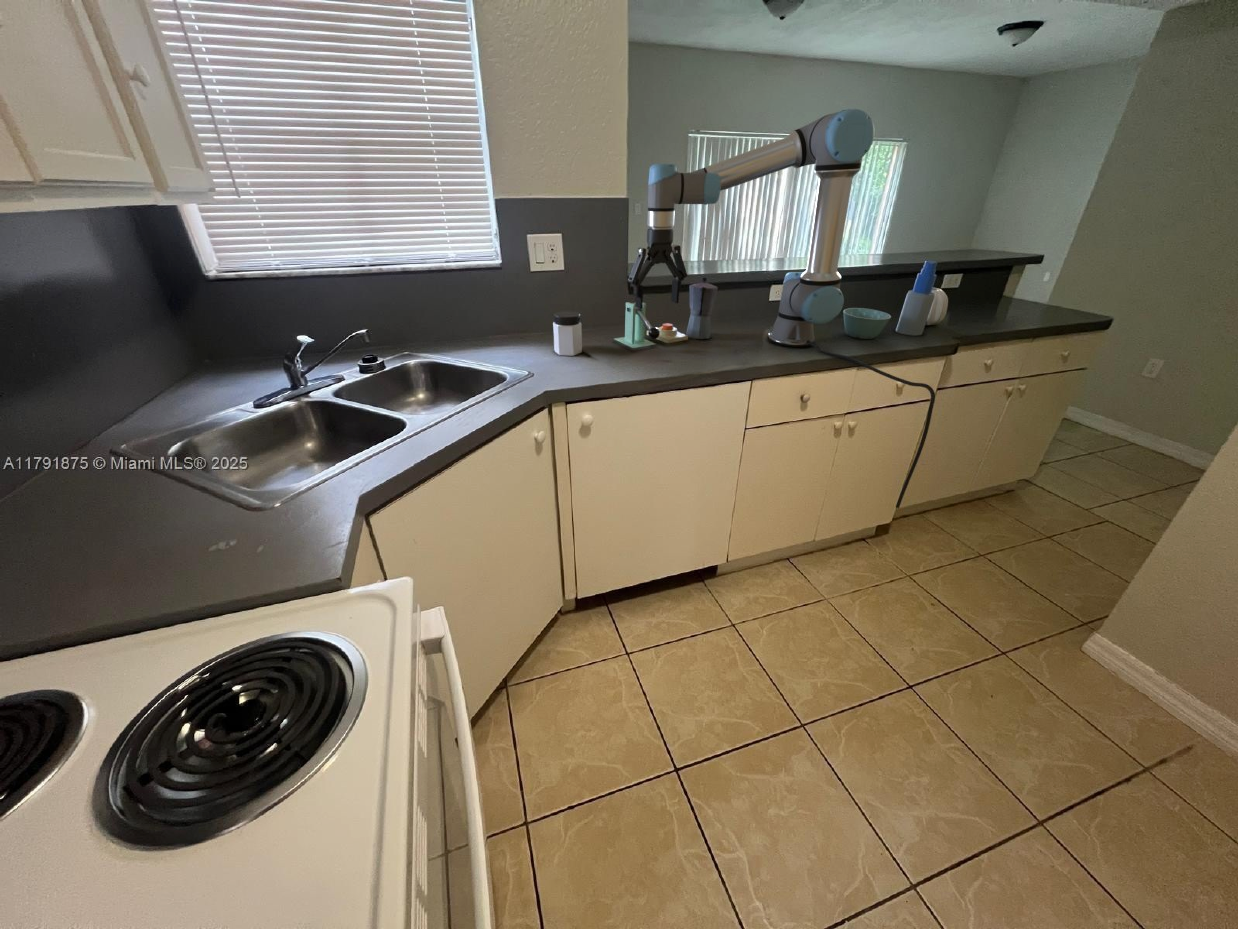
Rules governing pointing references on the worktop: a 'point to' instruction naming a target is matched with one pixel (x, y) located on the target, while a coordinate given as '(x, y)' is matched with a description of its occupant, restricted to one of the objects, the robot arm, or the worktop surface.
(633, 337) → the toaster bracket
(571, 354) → the jar
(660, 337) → the button block
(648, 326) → the lever
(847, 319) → the bowl
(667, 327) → the button
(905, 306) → the spray bottle
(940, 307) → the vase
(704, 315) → the moka pot
